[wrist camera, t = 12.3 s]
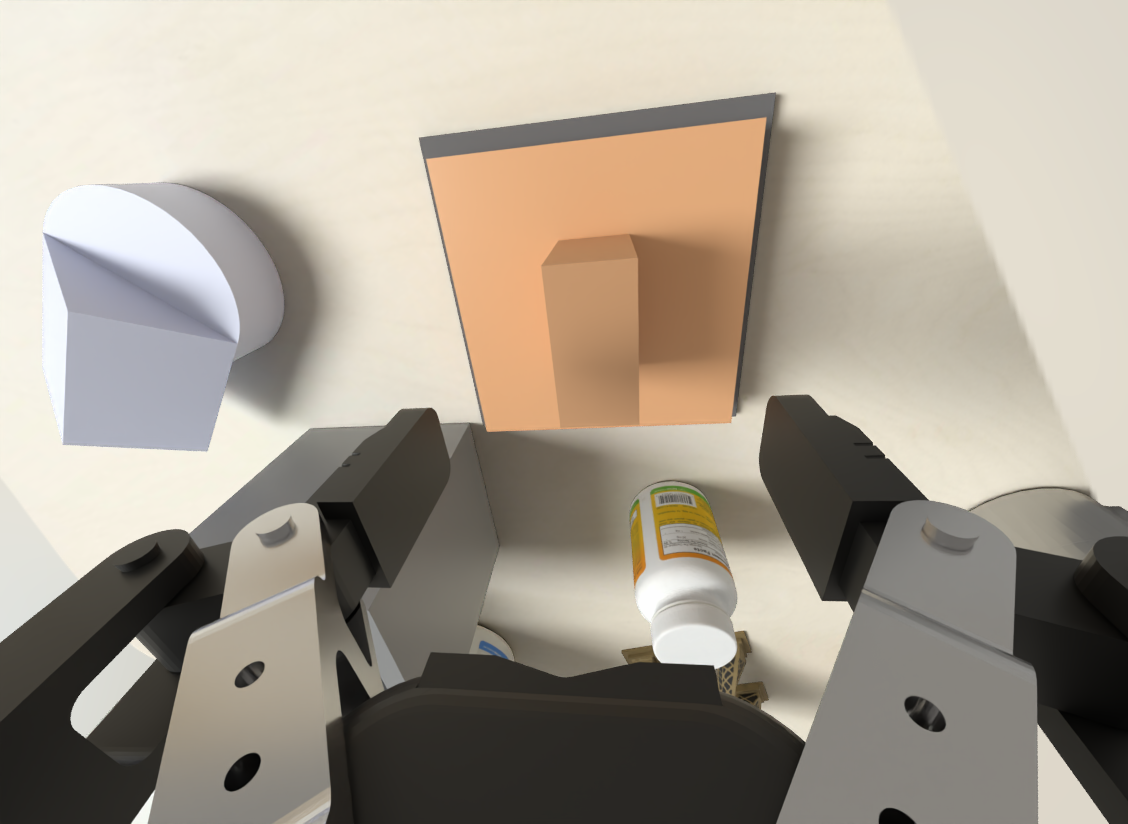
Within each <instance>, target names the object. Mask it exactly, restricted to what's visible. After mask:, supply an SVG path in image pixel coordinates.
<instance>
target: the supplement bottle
mask: <svg viewBox="0 0 1128 824" xmlns="http://www.w3.org/2000/svg"><path fill="white" fill-rule="evenodd" d="M630 531H631V543H632V558H633V573H634V588H635V597H636V603H637V606H638V609H639V610H640V612H641V614H642V615H643V616H644V618H645V619H646V620H647V621H648V622H650V623H651V636H652V644H653V651H654V654H655V656H656V657H657V659H658V660H659V661H660V662H661V663H674V664H695V665H714V668H715V669H718V668H720V667H722V666H724V665H726V664H727V663H729V662H730V661H731V660H732V659H733V658H734V656H735V655H736V652H737V641H736V637H735V633H734V629H733V624H732V621H731V619H730V617H731V615H732V614H733V612H734V610H735V608H736V604H737V591H736V587H735V584H734V580H733V577H732V574H731V571H730V567H729V564H728V561H727V558H726V555H725V552H724V549H723V545H722V542H721V539H720V536H719V533H718V530H717V526H716V523H715V520H714V517H713V513H712V510H711V507H710V505H709V502H708V500H707V498H706V497H705V496H704V494H703V493H702V492H701V491H699V490H698V489H697V488H695V487H693V486H691V485H688V484H685V483H681V482H674V481H668V482H660V483H656V484H653V485H651V486H649V487H647V488H645V489H644V490H642V491H641V492H640V493H639V494H638V495H637V496H636V497H635V499H634V500H633V502H632V504H631V507H630Z"/></svg>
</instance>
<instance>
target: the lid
mask: <svg viewBox="0 0 1128 824" xmlns="http://www.w3.org/2000/svg"><path fill="white" fill-rule="evenodd" d="M766 118H767V117H765V118H757V119H749V120H741V121H733V122H724V123H716V124H708V125H700V126H692V127H684V128H676V129H667V130H659V131H651V132H643V133H635V134H627V135H618V136H610V137H602V138H594V139H586V140H578V141H569V142H561V143H553V144H545V145H537V146H529V147H520V148H512V149H504V150H496V151H488V152H480V153H471V154H463V155H455V156H447V157H439V158H431V159H426V161H427V166H428V170H429V175H430V179H431V184H432V188H433V193H434V197H435V202H436V206H437V210H438V215H439V219H440V224H441V228H442V233H443V237H444V242H445V246H446V251H447V255H448V260H449V264H450V269H451V273H452V278H453V282H454V287H455V291H456V296H457V300H458V304H459V309H460V313H461V318H462V322H463V327H464V331H465V336H466V340H467V345H468V349H469V354H470V358H471V363H472V367H473V372H474V376H475V381H476V385H477V390H478V394H479V399H480V403H481V407H482V412H483V416H484V421H485V425H486V430H487V432H495V431H523V430H550V429H577V428H605V427H632V426H659V425H687V424H714V423H731V419H732V411H733V402H734V393H735V385H736V376H737V368H738V359H739V350H740V342H741V333H742V324H743V316H744V307H745V299H746V290H747V281H748V273H749V264H750V256H751V247H752V238H753V230H754V221H755V212H756V204H757V195H758V187H759V178H760V169H761V161H762V152H763V144H764V135H765V126H766Z"/></svg>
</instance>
